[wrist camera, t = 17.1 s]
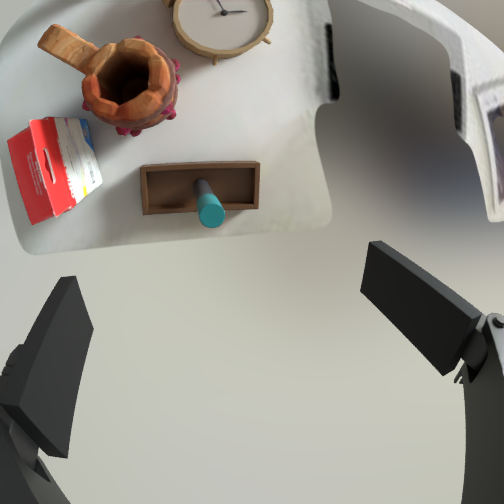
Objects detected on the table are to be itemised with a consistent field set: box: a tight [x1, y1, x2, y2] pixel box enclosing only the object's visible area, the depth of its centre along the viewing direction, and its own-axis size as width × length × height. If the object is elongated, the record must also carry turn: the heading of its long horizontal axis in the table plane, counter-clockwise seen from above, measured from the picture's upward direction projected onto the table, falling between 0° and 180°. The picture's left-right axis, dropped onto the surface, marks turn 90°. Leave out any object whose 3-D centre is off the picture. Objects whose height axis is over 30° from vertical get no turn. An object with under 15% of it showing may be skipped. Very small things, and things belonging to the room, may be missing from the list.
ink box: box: [7, 117, 103, 225], centre depth 22 cm, size 8×5×15 cm, turn 11°
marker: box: [193, 179, 225, 228], centre depth 28 cm, size 2×2×13 cm
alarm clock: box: [163, 0, 273, 65], centre depth 23 cm, size 11×5×15 cm
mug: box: [38, 24, 180, 137], centre depth 20 cm, size 15×8×15 cm, turn 51°
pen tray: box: [140, 161, 260, 215], centre depth 33 cm, size 14×6×2 cm, turn 88°
